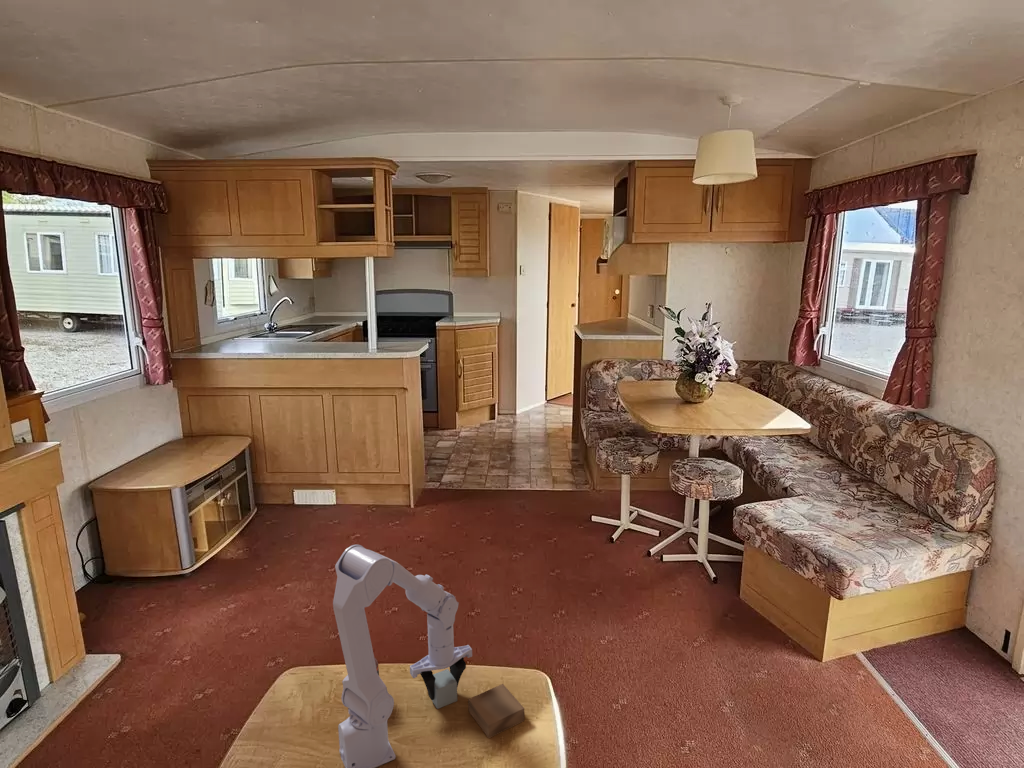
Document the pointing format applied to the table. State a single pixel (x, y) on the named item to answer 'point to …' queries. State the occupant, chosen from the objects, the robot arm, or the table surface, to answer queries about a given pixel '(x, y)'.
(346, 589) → the robot arm
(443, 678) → the grey cube
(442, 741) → the table surface
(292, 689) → the table surface
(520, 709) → the walnut block
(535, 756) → the table surface
